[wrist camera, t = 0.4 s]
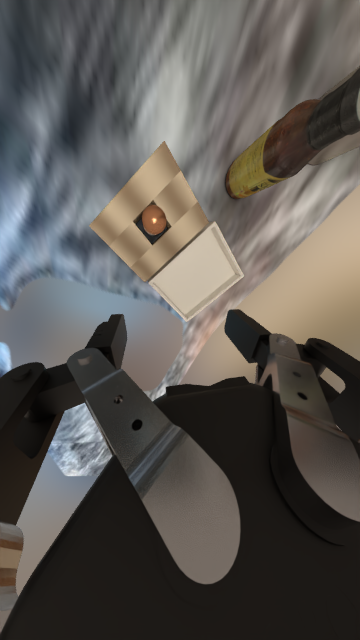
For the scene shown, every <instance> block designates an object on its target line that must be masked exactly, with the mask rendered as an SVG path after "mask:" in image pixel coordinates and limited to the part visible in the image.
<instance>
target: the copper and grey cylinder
mask: <svg viewBox="0 0 360 640" xmlns="http://www.w3.org/2000/svg"><path fill="white" fill-rule="evenodd" d="M142 222H143V226H144V229H145V231H146V233H147V234H148V235H151V236H155V235H157V234H159V233H161V232H162V231H163V230H164V229H165V227H166V216H165V213H164V211H163V210H162V209H161V208H160V207H158V206H156V205H150V206H148V207H146V208H145V210H144V211H143V214H142Z"/></svg>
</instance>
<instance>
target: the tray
mask: <svg viewBox="0 0 360 640" xmlns="http://www.w3.org/2000/svg"><path fill="white" fill-rule="evenodd" d="M242 277H244V275H243V273H242V271H241V269H240V267H239V266H238V264H237V262H236V260H235V258H234V256H233V254H232V252H231V250H230V248H229V246H228V245H227V243H226V241H225V239H224V237H223V235H222V233H221V231H220V229H219V227H218V225H217V223H216V222H215V221H214V222H210V223H208V224H207V225H206V226H205V227H204V228H203V229H202V230H201V231H200V232H199V233H197V234H196V235H195V236H194V237H193V238H192V239H191V240H190V241H189V242H188V243H187V244H186V245H185V246H183V247H182V248H181V249H180V250H179V251H178V252H177V253H176V254H175V255H174V256H173V257H172V258H171V259H170V260H168V261H167V262H166V263H165V264H164V265H163V266H162V267H161V268H160V269H159V270H158V271H157V272H156V273H154V274H153V275H152V276H151V277H150V278H149V279H148V283H149V284H150V285H151V286H152V287H153V288H154V289H155V290H156V291H157V292H158V293H159V294H160V295H161V296H162V297H163V298H164V299H165V300H166V301H167V302H168V303H169V304H170V305H171V306H172V308H173V309H174V310H175V311H176V312H177V313H178V314H179V315H180V316H181V317H182V318H183V319H184V320H185V321H186V322H188V321H189V320H190V319H191V318H193V317H194V316H195V315H196V314H198V313H199V312H200V311H201V310H203V309H204V308H205V307H206V306H208V305H209V304H210V303H211V302H213V301H214V300H215V299H216V298H218V297H219V296H220V295H221V294H222V293H224V292H225V291H226V290H227V289H229V288H230V287H231V286H232V285H234V284H235V283H236V282H237V281H239V280H240V279H241V278H242Z"/></svg>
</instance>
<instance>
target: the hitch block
mask: <svg viewBox="0 0 360 640" xmlns="http://www.w3.org/2000/svg"><path fill="white" fill-rule="evenodd" d="M150 205H156V206H158V207H160V208H161V209H162V210H163V211H164V213H165V216H166V227H167V230H166V231H165V232H164V233H163V234H162V235H161V236H160V237H159V238H158V239H157V240H156V241H155V242H154V243H153V244H151V243H150V242H149V241H148V239H147V238H146V237H145V236H144V235H143V233H142V232H141V231H140V230H139V228H138V227H137V226H136V225H135V224H136V223H137V222H138V221H139V220H140V219H141V218H142V214H143V211H144V210H145V208H146V207H148V206H150ZM208 223H209V221H208V220H207V218H206V216H205V214H204V212H203V210H202V209H201V207H200V205H199V203H198V201H197V200H196V198H195V196H194V194H193V192H192V190H191V189H190V187H189V185H188V183H187V181H186V179H185V178H184V176H183V174H182V172H181V170H180V168H179V167H178V165H177V163H176V161H175V159H174V158H173V156H172V154H171V152H170V150H169V148H168V147H167V145H166V143H165V141H164V142H163V143H162V144H161V145H160V146H159V147H158V148H157V150H156V151H155V152H154V153H153V154H152V155H151V156H150V158H149V159H148V160H147V161H146V162H145V163H144V164H143V165H142V167H141V168H140V169H139V170H138V171H137V172H136V173H135V174H134V176H133V177H132V178H131V179H130V180H129V181H128V182H127V184H126V185H125V186H124V187H123V188H122V189H121V190H120V191H119V193H118V194H117V195H116V196H115V197H114V198H113V199H112V200H111V202H110V203H109V204H108V205H107V206H106V207H105V208H104V210H103V211H102V212H101V213H100V214H99V215H98V216H97V217H96V219H95V220H94V221H93V222H92V223H91V224H90V225H89V226H90V227H91V228H92V229H93V230H94V231H95V232H96V233H97V234H98V235H99V236H100V237H101V238H102V239H103V240H104V241H105V242H106V243H107V244H108V245H109V246H110V247H111V248H112V250H113V251H114V252H115V253H116V254H117V255H118V256H119V257H120V258H121V259H122V260H123V261H124V262H125V263H126V264H127V265H128V266H129V267H130V268H131V269H132V270H133V271H134V272H135V273H136V274H137V275H138V276H139V277H140V278H141V279H142V280H143V281H144V282H146V281H147V280H148V279H149V278H150V277H151V276H152V275H153V274H154V273H156V272H157V271H158V270H159V269H160V268H161V267H162V266H163V265H164V264H165V263H166V262H167V261H168V260H170V259H171V258H172V257H173V256H174V255H175V254H176V253H177V252H178V251H179V250H180V249H181V248H182V247H183V246H185V245H186V244H187V243H188V242H189V241H190V240H191V239H192V238H193V237H194V236H195V235H196V234H197V233H199V232H200V231H201V230H202V229H203V228H204V227H205V226H206V225H207V224H208Z"/></svg>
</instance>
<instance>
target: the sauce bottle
mask: <svg viewBox="0 0 360 640" xmlns="http://www.w3.org/2000/svg"><path fill="white" fill-rule="evenodd" d="M359 131H360V68H359V69H358V70H357V71H356V72H355V73H354V74H353V75H352V77H351V78H349V79H348V80H347V81H346V82H344V83H343V84H342V85H341V86H339V87H338V88H337V89H336V90H334V91H332V92H331V93H329V94H328V95H326V96H325V97H324V98H323V99H322V100H317V99H313V100H307V101H304V102H302V103H300V104H298V105H296V107H294V108H293V109H291V110H290V111H289V112H288V113H287V114H286V115H285V116H284V117H283V118H282V119H280V120H278V121H277V122H276V123H275V124H274V125H273V126H272V127H270V128H269V129H268V130H267V131H266V132H265V133H264V134H263V135H262V136H261V137H259V138H258V139H257V140H256V141H255V142H254V143H253V144H252V145H251V146H249V147H248V148H247V149H246V150H245V151H244V152H243V153H242V154H241V155H240V156H239V157H237V159H236V160H235V161H234V162H233V163H232V165H231V166H230V168H229V170H228V173H227V176H226V188H227V191H228V193H229V194H230V196H231V197H233V198H235V199H239V198H245V197H248V196H250V195H252V194H254V193H257V192H259V191H261V190H263V189H265V188H268V187H270V186H272V185H274V184H277V183H279V182H281V181H283V180H285V179H288V178H290V177H292V176H294V175H296V174H297V173H298V172H299V171H300V170H301V169H302V168H303V167H304V166H305V165H306V164H307V163H308V162H309V161H311V160H312V159H313V158H314V157H315V156H316V155H317V154H318V153H319V152H320V151H321V150H322V149H324V148H326V147H327V146H329V145H330V144H332V143H333V142H335V141H337V140H339V139H341V138H343V137H345V136H347V135H353V134H355V133H357V132H359Z"/></svg>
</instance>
